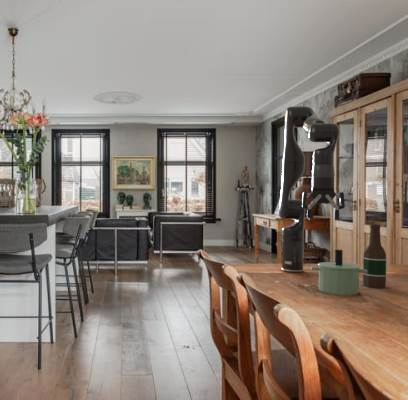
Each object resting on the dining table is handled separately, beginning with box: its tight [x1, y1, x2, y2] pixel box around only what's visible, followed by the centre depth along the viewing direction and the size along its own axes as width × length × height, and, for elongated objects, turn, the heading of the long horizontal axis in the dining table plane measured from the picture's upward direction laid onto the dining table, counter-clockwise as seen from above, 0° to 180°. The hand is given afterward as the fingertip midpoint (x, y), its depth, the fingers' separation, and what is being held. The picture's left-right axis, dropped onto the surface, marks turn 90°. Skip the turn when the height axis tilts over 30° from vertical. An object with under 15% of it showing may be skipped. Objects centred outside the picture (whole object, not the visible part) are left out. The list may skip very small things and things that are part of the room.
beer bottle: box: [362, 223, 387, 289], centre depth 170 cm, size 8×8×24 cm
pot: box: [310, 265, 367, 296], centre depth 159 cm, size 13×18×10 cm
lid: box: [317, 249, 361, 270], centre depth 159 cm, size 14×14×7 cm
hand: (322, 219), depth 164 cm, fingers open, 8 cm apart
